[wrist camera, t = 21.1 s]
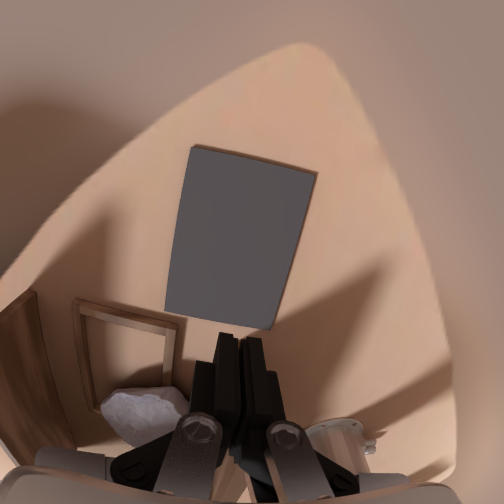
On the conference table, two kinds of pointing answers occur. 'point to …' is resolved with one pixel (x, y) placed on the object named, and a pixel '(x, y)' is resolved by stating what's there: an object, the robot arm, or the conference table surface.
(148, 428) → the stone block
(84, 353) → the well frame
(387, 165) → the conference table surface
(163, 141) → the conference table surface
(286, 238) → the mat
